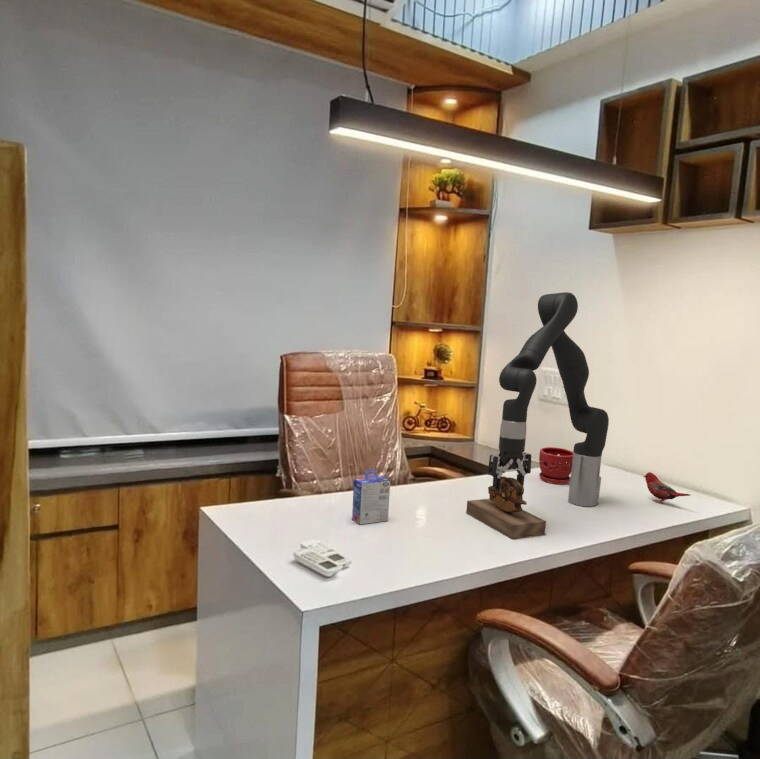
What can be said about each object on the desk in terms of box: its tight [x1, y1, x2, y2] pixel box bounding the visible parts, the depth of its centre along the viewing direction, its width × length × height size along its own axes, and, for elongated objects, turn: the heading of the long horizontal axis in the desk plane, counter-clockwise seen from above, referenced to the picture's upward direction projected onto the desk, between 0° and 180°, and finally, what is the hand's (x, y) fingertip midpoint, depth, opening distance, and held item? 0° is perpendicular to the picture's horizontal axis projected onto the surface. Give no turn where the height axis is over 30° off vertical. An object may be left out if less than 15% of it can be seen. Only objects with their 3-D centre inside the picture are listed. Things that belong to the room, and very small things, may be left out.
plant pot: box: [538, 446, 573, 485], centre depth 231 cm, size 13×13×12 cm
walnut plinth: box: [465, 498, 547, 540], centre depth 179 cm, size 12×22×4 cm, turn 27°
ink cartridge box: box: [351, 469, 391, 525], centre depth 173 cm, size 10×6×14 cm, turn 121°
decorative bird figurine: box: [642, 472, 691, 505], centre depth 210 cm, size 3×18×10 cm, turn 34°
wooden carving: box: [487, 476, 528, 512], centre depth 178 cm, size 16×5×10 cm, turn 28°
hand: (507, 488), depth 178 cm, fingers open, 8 cm apart
